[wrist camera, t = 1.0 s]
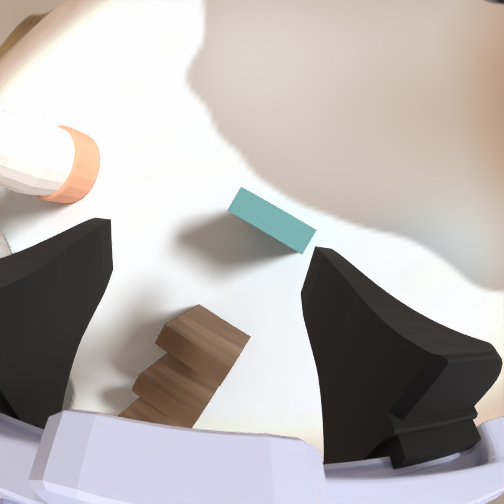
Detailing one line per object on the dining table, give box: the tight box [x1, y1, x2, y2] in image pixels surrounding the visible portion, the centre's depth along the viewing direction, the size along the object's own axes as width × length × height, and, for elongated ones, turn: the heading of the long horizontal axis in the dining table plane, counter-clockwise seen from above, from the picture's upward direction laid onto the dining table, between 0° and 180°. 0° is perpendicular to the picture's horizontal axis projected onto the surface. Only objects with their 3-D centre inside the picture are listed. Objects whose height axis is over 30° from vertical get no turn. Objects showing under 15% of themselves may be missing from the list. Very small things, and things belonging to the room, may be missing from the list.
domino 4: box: [227, 187, 316, 254], centre depth 22 cm, size 2×5×7 cm, turn 60°
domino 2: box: [155, 305, 250, 386], centre depth 23 cm, size 2×5×7 cm, turn 60°
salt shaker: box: [0, 110, 100, 204], centre depth 19 cm, size 7×7×19 cm
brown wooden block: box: [132, 353, 219, 428], centre depth 23 cm, size 2×5×7 cm, turn 59°
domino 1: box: [119, 397, 186, 428], centre depth 24 cm, size 2×5×7 cm, turn 59°
